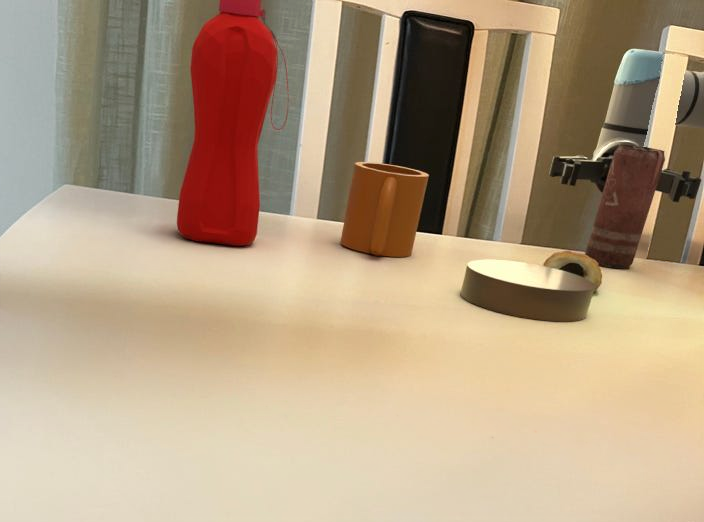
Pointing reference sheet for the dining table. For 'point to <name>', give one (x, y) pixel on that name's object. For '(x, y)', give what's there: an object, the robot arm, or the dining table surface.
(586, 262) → the pastry
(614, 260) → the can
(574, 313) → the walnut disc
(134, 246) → the dining table surface
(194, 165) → the water bottle
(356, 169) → the mug
